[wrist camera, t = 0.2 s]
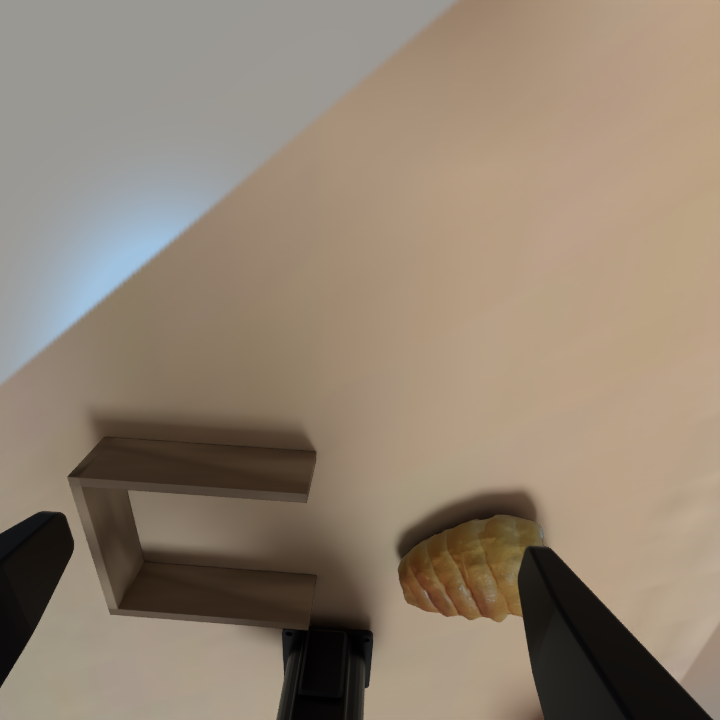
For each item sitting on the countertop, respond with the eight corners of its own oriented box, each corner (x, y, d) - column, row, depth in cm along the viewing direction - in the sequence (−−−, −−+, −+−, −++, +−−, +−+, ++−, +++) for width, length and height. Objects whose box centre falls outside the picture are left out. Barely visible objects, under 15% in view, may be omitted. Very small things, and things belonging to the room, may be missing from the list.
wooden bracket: (316, 581, 32) (308, 630, 29) (137, 567, 32) (110, 614, 29) (316, 451, 27) (306, 494, 24) (104, 436, 27) (67, 476, 24)
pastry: (417, 600, 32) (422, 657, 28) (381, 535, 29) (382, 590, 25) (554, 568, 30) (577, 626, 26) (530, 495, 27) (552, 549, 24)
